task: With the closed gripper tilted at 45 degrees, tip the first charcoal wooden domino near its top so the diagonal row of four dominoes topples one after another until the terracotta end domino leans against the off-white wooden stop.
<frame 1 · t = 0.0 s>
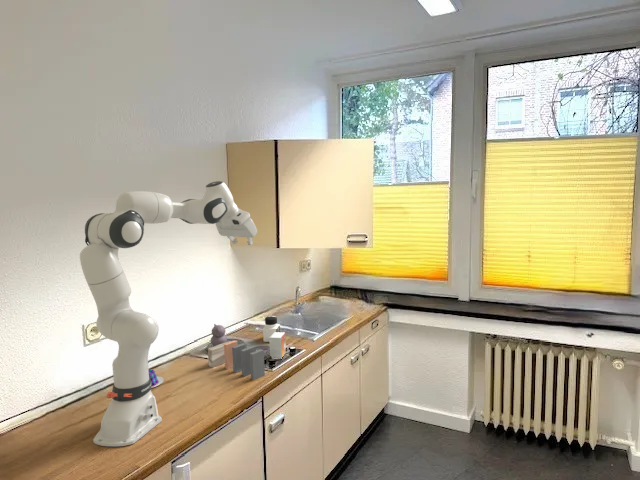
hand: (243, 243, 192), 54 cm above the worktop, tool tilted 30°, fingers open, 8 cm apart
domino 2: (249, 373, 189), on the worktop
domino 1: (257, 377, 186), on the worktop
medicine bottle: (271, 339, 229), on the worktop
small box: (278, 357, 207), on the worktop
stop: (222, 362, 202), on the worktop
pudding: (148, 384, 183), on the worktop
end domino: (232, 366, 197), on the worktop
cat figurine: (219, 349, 218), on the worktop
domino 3: (240, 370, 193), on the worktop
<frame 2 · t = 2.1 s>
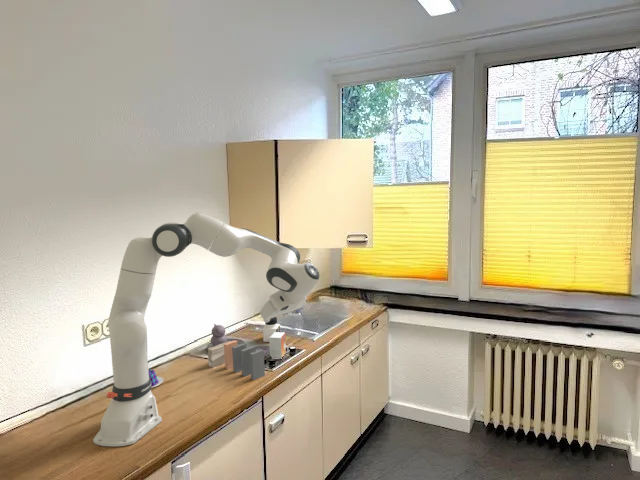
hand: (275, 317, 174), 28 cm above the worktop, tool tilted 45°, fingers open, 8 cm apart
nothing on the worktop moved.
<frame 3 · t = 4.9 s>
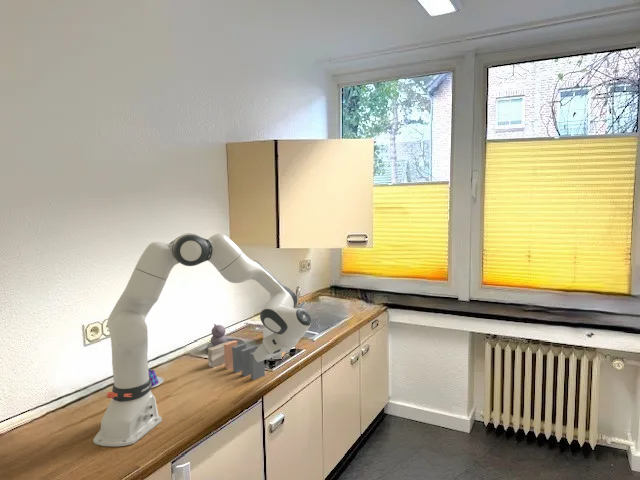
hand: (268, 357, 179), 10 cm above the worktop, tool tilted 45°, fingers closed
nothing on the worktop moved.
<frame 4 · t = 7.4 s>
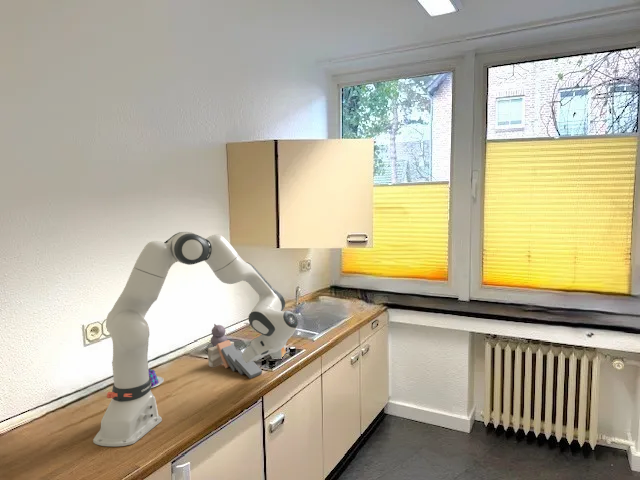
hand: (257, 358, 184), 8 cm above the worktop, tool tilted 45°, fingers closed
domino 2: (247, 371, 190), point 1 cm above the worktop, tilted 58°, touching domino 1, domino 3
domino 1: (256, 374, 186), point 1 cm above the worktop, tilted 64°, touching domino 2
end domino: (231, 365, 197), on the worktop, tilted 32°, touching domino 3, stop
domino 3: (239, 368, 194), point 1 cm above the worktop, tilted 47°, touching domino 2, end domino
everything else where it was.
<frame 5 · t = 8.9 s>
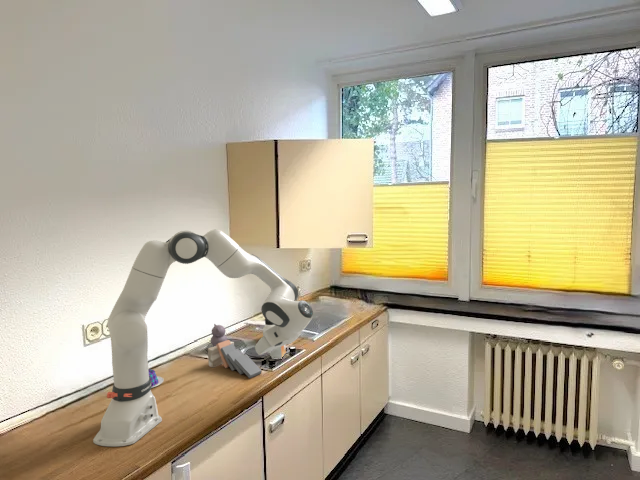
hand: (269, 350, 179), 13 cm above the worktop, tool tilted 45°, fingers closed
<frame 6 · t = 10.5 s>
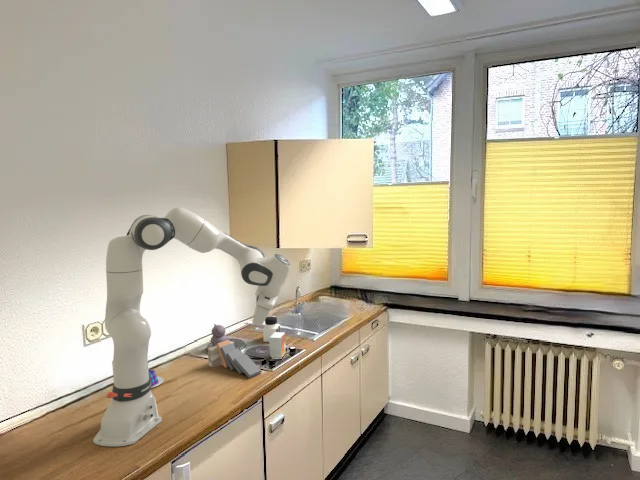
hand: (254, 323, 177), 25 cm above the worktop, tool tilted 25°, fingers closed
domino 2: (246, 370, 190), point 1 cm above the worktop, tilted 55°, touching domino 3
domino 1: (255, 374, 187), point 1 cm above the worktop, tilted 64°
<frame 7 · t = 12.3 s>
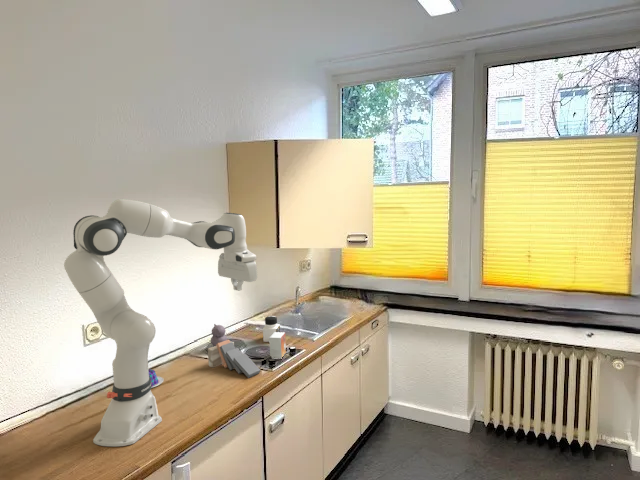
hand: (237, 290, 173), 39 cm above the worktop, tool pointing down, fingers closed
domino 2: (245, 370, 191), point 1 cm above the worktop, tilted 54°, touching domino 1
domino 1: (254, 374, 187), point 1 cm above the worktop, tilted 63°, touching domino 2
domino 3: (236, 367, 195), point 1 cm above the worktop, tilted 37°, touching end domino
everything else where it was.
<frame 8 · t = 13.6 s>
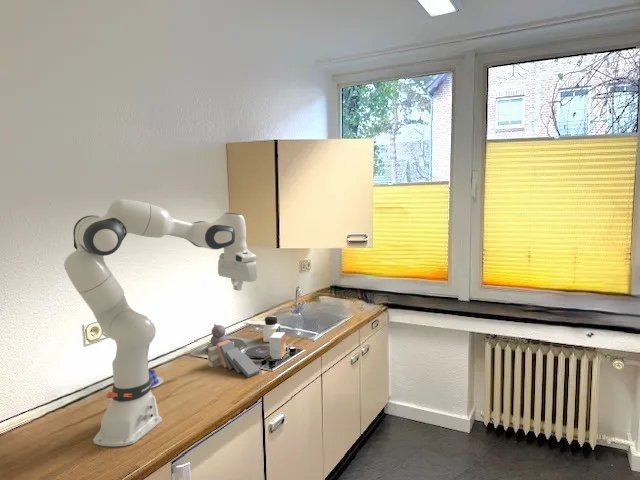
hand: (237, 290, 173), 39 cm above the worktop, tool pointing down, fingers closed
domino 2: (244, 370, 191), point 1 cm above the worktop, tilted 52°, touching domino 1, domino 3
domino 3: (235, 367, 195), point 1 cm above the worktop, tilted 35°, touching domino 2, end domino
everything else where it was.
at the end: end domino tilted 30°; end domino touching domino 3, stop, worktop; domino 1 tilted 63° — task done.
